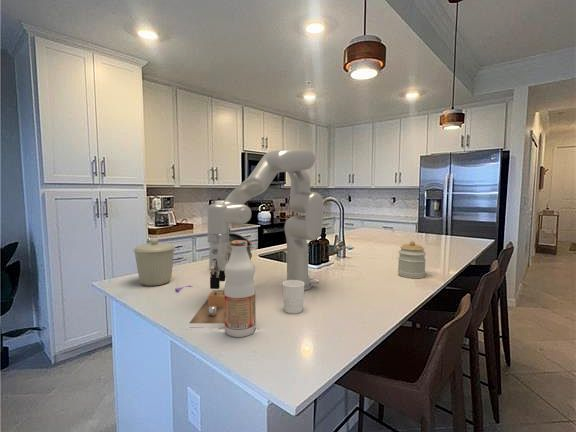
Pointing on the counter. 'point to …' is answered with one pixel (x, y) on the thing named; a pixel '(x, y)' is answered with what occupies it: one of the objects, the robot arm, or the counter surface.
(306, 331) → the counter surface
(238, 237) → the pot
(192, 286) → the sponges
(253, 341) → the counter surface
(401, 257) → the jar
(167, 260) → the canister
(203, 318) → the walnut board
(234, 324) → the fruit juice
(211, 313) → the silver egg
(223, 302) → the collar
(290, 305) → the white cup
